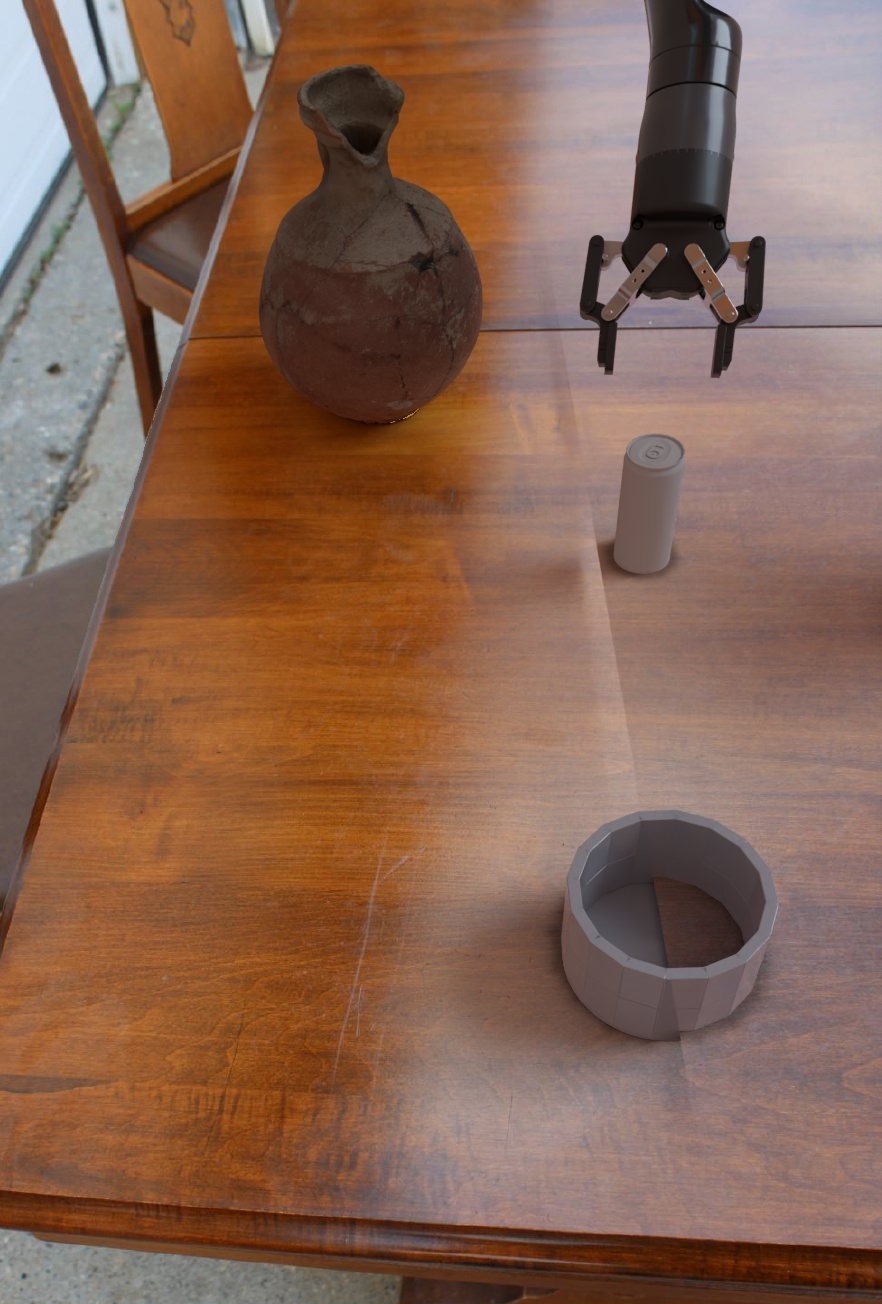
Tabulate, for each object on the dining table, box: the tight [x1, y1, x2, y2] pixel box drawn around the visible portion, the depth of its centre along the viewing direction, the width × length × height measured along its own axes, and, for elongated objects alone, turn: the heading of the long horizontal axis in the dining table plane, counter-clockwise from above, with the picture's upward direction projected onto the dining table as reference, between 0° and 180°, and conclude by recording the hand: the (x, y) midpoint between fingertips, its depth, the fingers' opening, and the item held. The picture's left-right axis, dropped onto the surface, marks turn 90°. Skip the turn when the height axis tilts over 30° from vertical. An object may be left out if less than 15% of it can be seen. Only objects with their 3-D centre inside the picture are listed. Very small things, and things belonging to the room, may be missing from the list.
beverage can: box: [612, 433, 687, 575], centre depth 99 cm, size 5×5×12 cm
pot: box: [560, 809, 780, 1042], centre depth 78 cm, size 13×13×8 cm
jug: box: [258, 63, 484, 425], centre depth 112 cm, size 22×22×30 cm
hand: (662, 374), depth 98 cm, fingers open, 8 cm apart
